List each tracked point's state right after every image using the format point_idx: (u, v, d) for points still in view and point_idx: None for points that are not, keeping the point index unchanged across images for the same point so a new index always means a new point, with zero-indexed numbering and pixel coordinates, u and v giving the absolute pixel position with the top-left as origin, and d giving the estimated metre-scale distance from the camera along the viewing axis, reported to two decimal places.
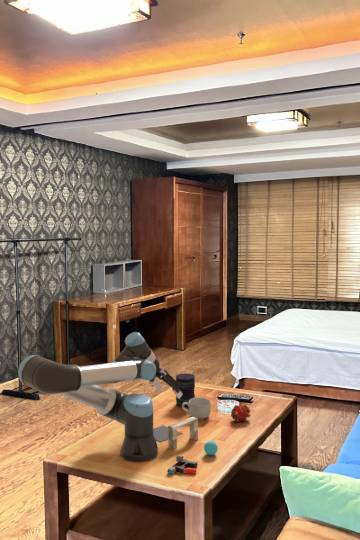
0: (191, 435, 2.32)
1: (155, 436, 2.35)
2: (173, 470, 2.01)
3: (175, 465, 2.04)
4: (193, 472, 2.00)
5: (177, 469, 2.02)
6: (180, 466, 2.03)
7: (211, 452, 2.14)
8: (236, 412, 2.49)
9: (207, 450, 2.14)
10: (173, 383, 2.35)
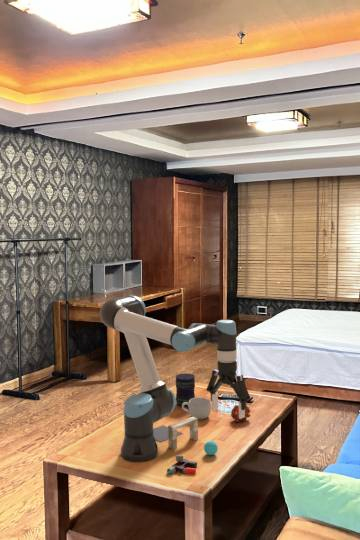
0: (191, 435, 2.32)
1: (155, 436, 2.35)
2: (173, 470, 2.01)
3: (175, 465, 2.04)
4: (193, 472, 2.00)
5: (177, 469, 2.02)
6: (180, 466, 2.03)
7: (211, 452, 2.14)
8: (236, 412, 2.49)
9: (207, 450, 2.14)
10: (245, 393, 2.02)
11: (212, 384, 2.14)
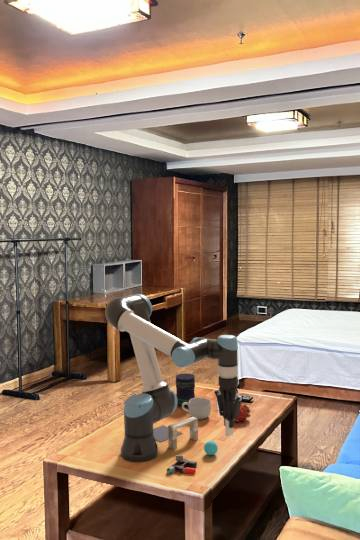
0: (191, 435, 2.32)
1: (155, 436, 2.35)
2: (172, 469, 2.01)
3: (174, 464, 2.04)
4: (192, 472, 2.00)
5: (176, 469, 2.03)
6: (179, 466, 2.03)
7: (211, 452, 2.14)
8: None
9: (207, 450, 2.14)
10: (236, 413, 2.04)
11: (222, 406, 2.10)
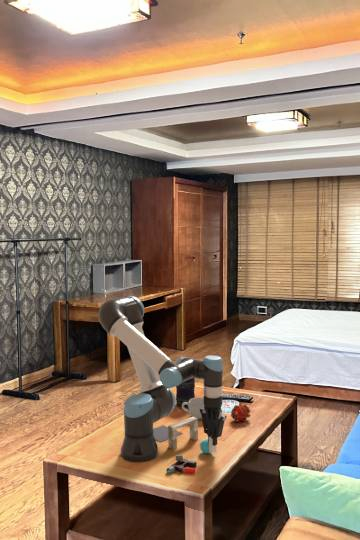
0: (191, 435, 2.32)
1: (155, 436, 2.35)
2: (172, 469, 2.01)
3: (174, 464, 2.05)
4: (192, 471, 2.01)
5: (176, 468, 2.03)
6: (179, 465, 2.03)
7: (207, 447, 2.16)
8: (236, 412, 2.49)
9: (203, 447, 2.16)
10: (219, 432, 2.11)
11: (206, 424, 2.17)
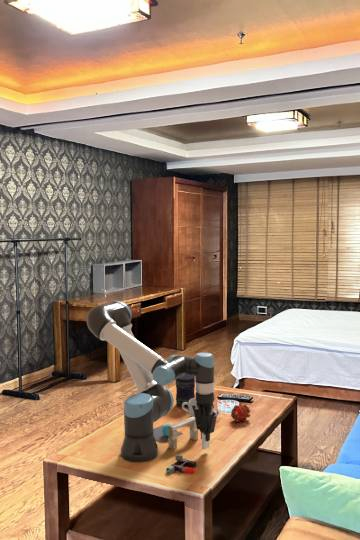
0: (191, 435, 2.32)
1: (155, 436, 2.35)
2: (172, 469, 2.02)
3: (174, 464, 2.05)
4: (191, 471, 2.01)
5: (176, 468, 2.03)
6: (179, 465, 2.04)
7: None
8: (236, 412, 2.49)
9: (162, 431, 2.34)
10: (211, 427, 2.15)
11: (199, 420, 2.20)
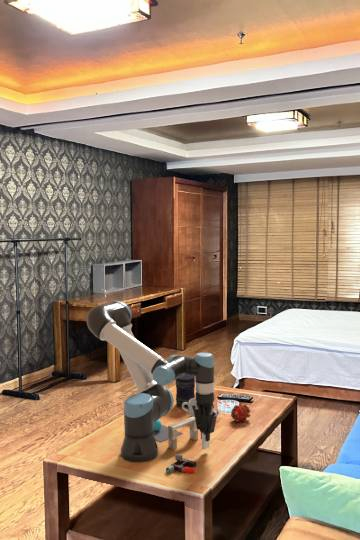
0: (191, 435, 2.32)
1: (155, 436, 2.35)
2: (171, 469, 2.02)
3: (174, 464, 2.05)
4: (191, 471, 2.01)
5: (176, 468, 2.03)
6: (179, 465, 2.04)
7: (155, 430, 2.39)
8: (236, 412, 2.49)
9: None
10: (211, 427, 2.15)
11: (199, 420, 2.20)
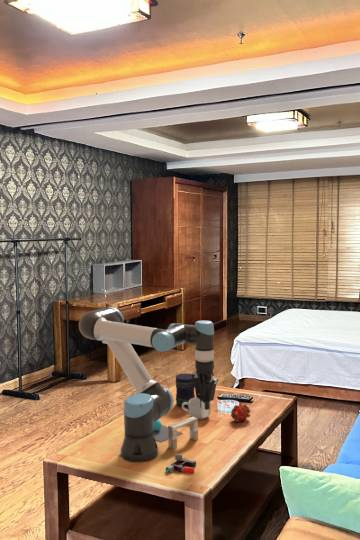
0: (191, 435, 2.32)
1: (155, 436, 2.35)
2: (171, 468, 2.02)
3: (173, 463, 2.05)
4: (191, 471, 2.01)
5: (175, 468, 2.03)
6: (178, 465, 2.04)
7: (155, 430, 2.39)
8: (236, 412, 2.49)
9: None
10: (211, 395, 2.13)
11: (198, 388, 2.19)
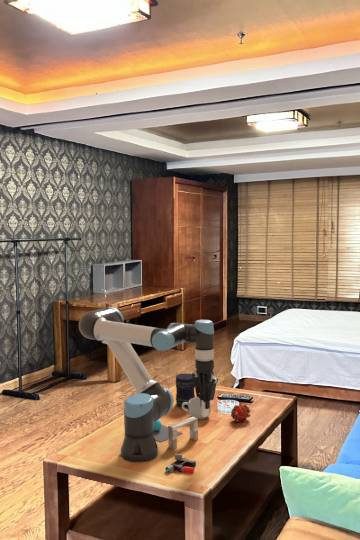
0: (191, 435, 2.32)
1: (155, 436, 2.35)
2: (171, 468, 2.02)
3: (173, 463, 2.05)
4: (191, 471, 2.01)
5: (175, 467, 2.04)
6: (178, 464, 2.04)
7: (155, 430, 2.39)
8: (236, 412, 2.49)
9: None
10: (211, 395, 2.13)
11: None
